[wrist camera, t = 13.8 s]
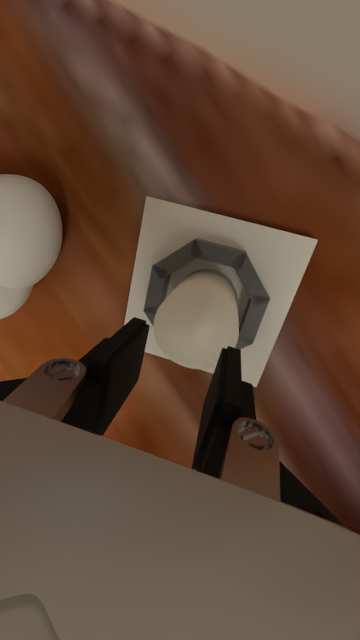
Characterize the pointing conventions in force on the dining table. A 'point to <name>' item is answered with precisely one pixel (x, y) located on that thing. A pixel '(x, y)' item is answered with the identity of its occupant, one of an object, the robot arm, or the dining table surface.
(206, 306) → the cream cap
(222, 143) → the dining table surface
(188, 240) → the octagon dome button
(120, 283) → the dining table surface
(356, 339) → the dining table surface
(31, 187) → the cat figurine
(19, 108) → the dining table surface
